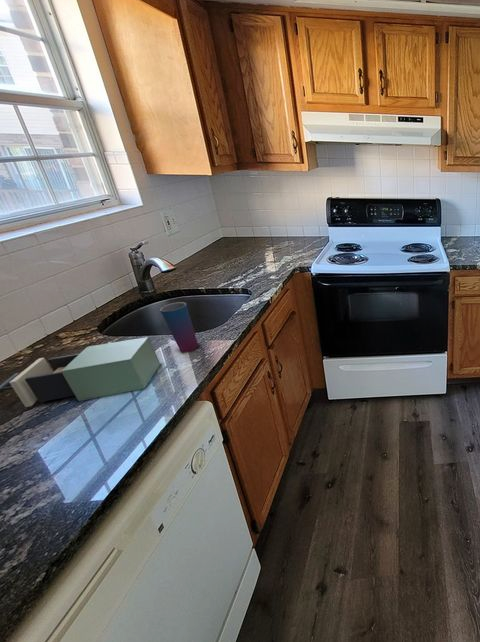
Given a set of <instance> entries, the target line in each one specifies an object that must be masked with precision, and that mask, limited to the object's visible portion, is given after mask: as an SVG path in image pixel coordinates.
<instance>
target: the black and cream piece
mask: <svg viewBox="0 0 480 642" xmlns="http://www.w3.org/2000/svg"><path fill="white" fill-rule="evenodd" d="M79 354H80V353H75V354H68V355H63V356H55V357H50V358H48V359H47V360H46V358H45V357H40V358H37V359H36V360H35V361H34V362H32V363H31V364H30V365H28V367H26V368H25V369H24V370H22V371H20V372H15V373H13V374H12V375H11V376H10V377H8V378H6V379H5V380H4V381H3V382H1V384H0V394H2V393H4V392H5V391H10V390H14V392H15V393H16V395H17V397H18V398H19V399H20V401H21V403H22V404H23V405H24V407H25V408H28V407H29V408H30V407H32V406H33V405H34V404H36V403H37V402H38V403H42V402H48V401H52V400H53V401H54V400H57V399H58V400H59V399H64V398H69V397H74V396H75V394H74V392H73V391H72V389H71V387H70V386H69V384H68V382H67V380H66V379H65V377H64V375H63V373H62V372H55V373H53V372H54V371H55V370H57V369H58V368H61V367H66V366H67V365H68V364H69V363H70V362H72V361H73V360H74V359H75V358H76V357H77V356H78V355H79Z"/></svg>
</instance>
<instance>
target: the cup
mask: <svg viewBox="0 0 480 642" xmlns="http://www.w3.org/2000/svg"><path fill="white" fill-rule="evenodd" d="M159 311H160V313H161V315H162V317H163V319H164V322H165V323H166V325H167V327H168V329H169V331H170V333H171V335H172V337H173V340H174V341H175V343H176V345H177V347H178V350H179V351H180V352H181V353H187V352H191V351H194V350H196V349H198V347H199V343H198V339H197V336H196V332H195V329H194V326H193V323H192V319H191V315H190V312H189V309H188V305H187V303H186V302H184V301H176V302H171V303H168V304H165V305H163V306H162V307H160V308H159Z"/></svg>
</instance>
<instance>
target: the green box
mask: <svg viewBox="0 0 480 642" xmlns="http://www.w3.org/2000/svg"><path fill="white" fill-rule="evenodd" d="M78 354H79V355H78V356H77V357H76V358H75V359H74V360H73V361H72V362H70V363H69V364H68V365H67V366H66V367H65V368H64V369H63V370H62V371H61V372H62V373H63V375H64V377H65V379H66V380H67V382H68V384H69V386H70V387H71V389H72V391H73V392H74V394H75V395H74V396H75V398H76V400H77V401H78V402H81V401H82V402H83V401H85V400H86V401H88V400H92V399H97V398H102V397H107V396H108V397H109V396H113V395H117V394H123V393H128V392H133V391H138V390H139V391H140V390H143V389H146V387H147V385H148V384H149V382H150V381H151V379H152V377H153V376H154V375H155V373H156V371H157V370H158V369H159V367H160V366H161V362H160V360H159V357H158V354H157V352H156V350H155V349H154V346H153V344H152V342H151V339H150V337H149V336H145V337H140V338H139V337H138V338H132V339H126V340H120V341H115V342H108V343H101V344H96V345H95V344H94V345H89V346H86V347H85V348H84V349H83V350H82V351H81V352H80V353H78Z"/></svg>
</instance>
